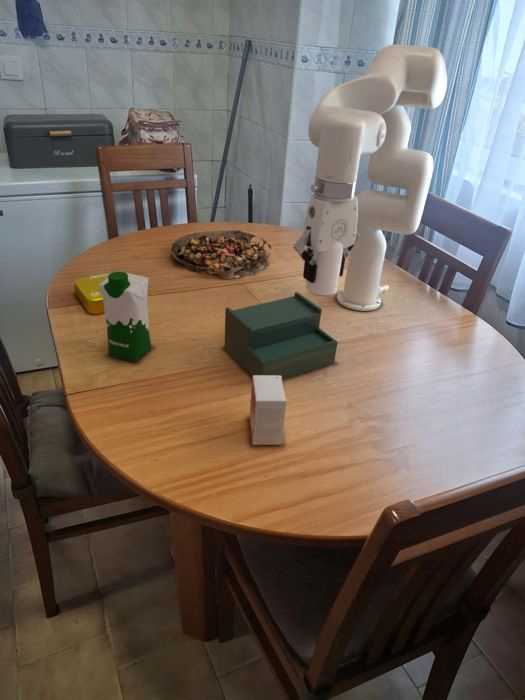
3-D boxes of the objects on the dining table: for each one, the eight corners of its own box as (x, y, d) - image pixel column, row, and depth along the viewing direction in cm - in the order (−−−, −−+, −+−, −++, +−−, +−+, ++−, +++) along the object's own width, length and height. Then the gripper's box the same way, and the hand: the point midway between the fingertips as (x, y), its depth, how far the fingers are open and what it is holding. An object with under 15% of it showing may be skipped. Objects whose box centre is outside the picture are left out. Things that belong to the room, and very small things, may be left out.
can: (335, 299, 102) (344, 242, 96) (303, 294, 103) (310, 237, 97) (337, 285, 108) (346, 230, 101) (307, 281, 109) (313, 226, 102)
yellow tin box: (126, 282, 149) (124, 267, 146) (146, 304, 138) (145, 288, 136) (73, 293, 141) (71, 277, 139) (90, 316, 131) (88, 299, 128)
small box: (249, 417, 101) (251, 374, 95) (277, 417, 101) (281, 374, 96) (251, 445, 94) (255, 400, 88) (281, 445, 95) (286, 400, 89)
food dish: (271, 285, 156) (272, 261, 151) (162, 280, 155) (160, 256, 151) (271, 241, 184) (272, 220, 180) (179, 236, 184) (178, 215, 180)
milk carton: (103, 356, 116) (92, 275, 105) (124, 338, 123) (117, 260, 112) (137, 365, 113) (130, 284, 103) (157, 346, 121) (152, 267, 110)
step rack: (334, 363, 119) (341, 322, 113) (261, 386, 110) (265, 343, 104) (293, 330, 131) (297, 291, 125) (224, 348, 122) (225, 307, 116)
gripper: (309, 199, 87) (299, 293, 97) (383, 188, 96) (366, 276, 105) (284, 187, 93) (277, 277, 102) (356, 178, 101) (343, 263, 111)
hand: (323, 276), depth 104 cm, fingers closed on can, 6 cm apart
